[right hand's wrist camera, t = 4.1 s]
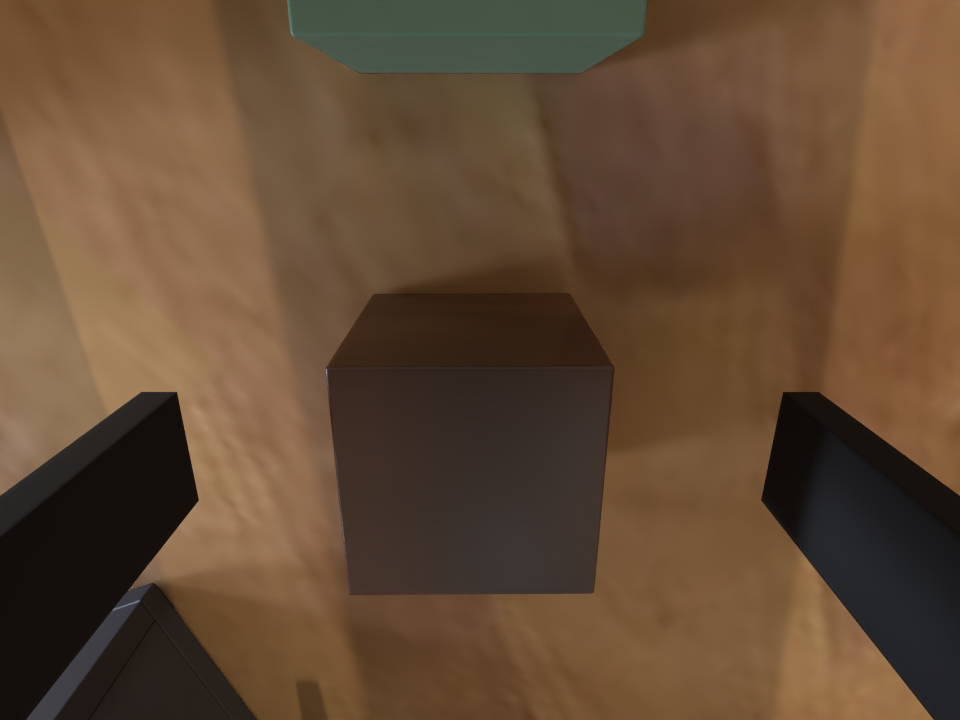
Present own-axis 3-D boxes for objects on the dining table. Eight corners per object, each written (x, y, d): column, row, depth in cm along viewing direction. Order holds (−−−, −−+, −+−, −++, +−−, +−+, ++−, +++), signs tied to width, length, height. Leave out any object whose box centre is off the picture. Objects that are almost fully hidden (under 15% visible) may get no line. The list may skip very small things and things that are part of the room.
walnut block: (384, 465, 16) (348, 596, 12) (372, 293, 15) (324, 367, 10) (560, 464, 16) (594, 594, 12) (570, 293, 15) (615, 366, 10)
